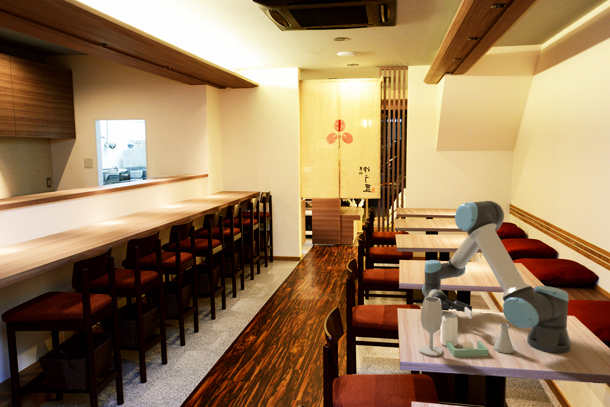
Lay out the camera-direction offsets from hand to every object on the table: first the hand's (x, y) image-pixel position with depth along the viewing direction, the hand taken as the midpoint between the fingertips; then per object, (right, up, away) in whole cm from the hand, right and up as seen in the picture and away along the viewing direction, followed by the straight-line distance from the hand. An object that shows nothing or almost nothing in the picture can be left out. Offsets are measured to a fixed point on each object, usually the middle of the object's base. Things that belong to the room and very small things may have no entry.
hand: (455, 315), depth 183 cm
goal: (0, -11, -12) cm, 16 cm away
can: (-4, -10, -5) cm, 12 cm away
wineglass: (-13, -11, -12) cm, 21 cm away
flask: (+15, -11, -11) cm, 22 cm away
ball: (+1, -9, -13) cm, 15 cm away
